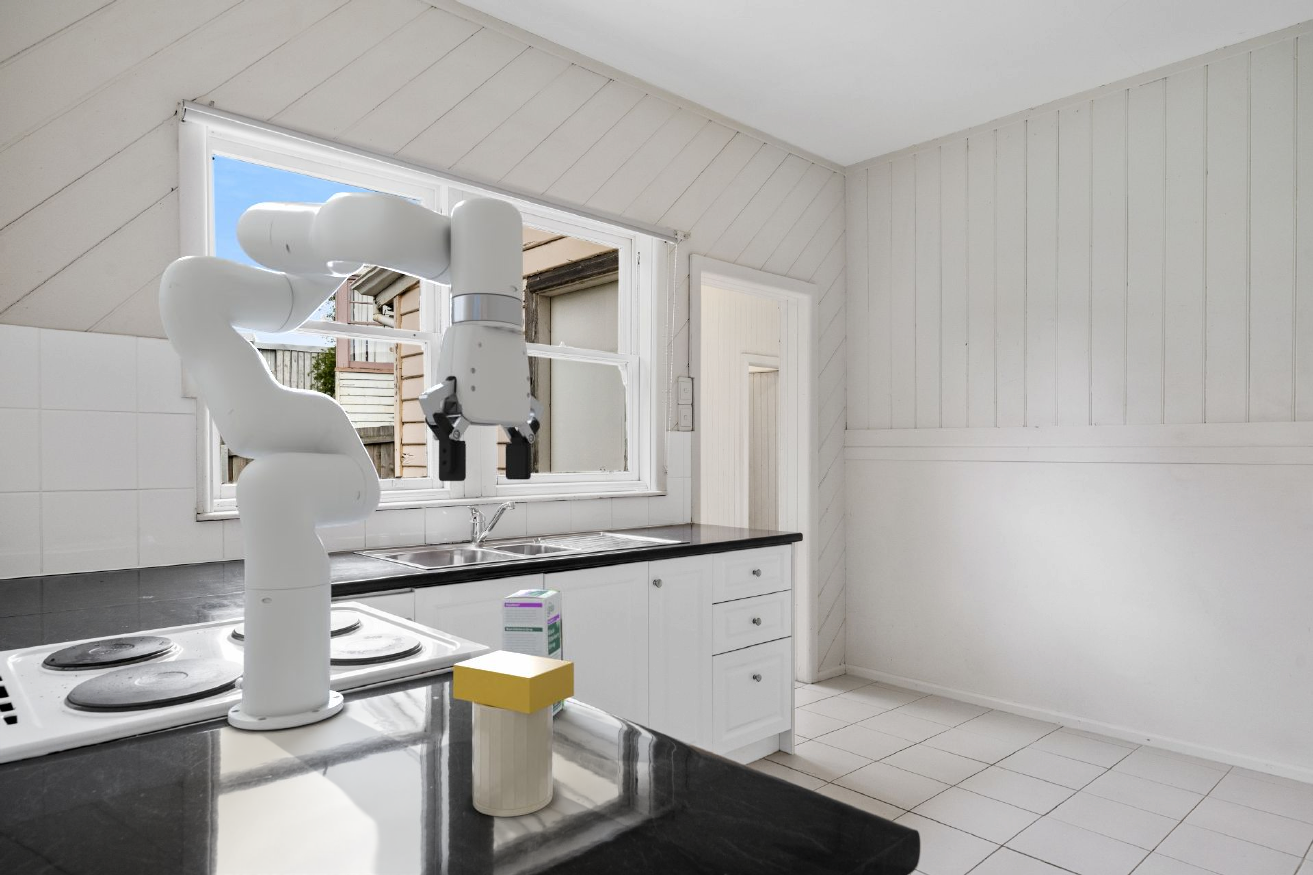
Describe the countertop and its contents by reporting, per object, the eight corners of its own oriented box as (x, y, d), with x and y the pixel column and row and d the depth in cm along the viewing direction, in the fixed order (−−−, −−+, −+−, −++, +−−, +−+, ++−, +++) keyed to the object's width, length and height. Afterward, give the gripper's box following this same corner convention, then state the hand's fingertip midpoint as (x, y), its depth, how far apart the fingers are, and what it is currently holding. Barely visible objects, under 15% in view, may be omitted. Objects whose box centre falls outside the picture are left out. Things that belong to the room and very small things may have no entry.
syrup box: (548, 723, 88) (548, 596, 88) (500, 720, 89) (500, 595, 89) (564, 707, 93) (564, 589, 94) (519, 705, 94) (519, 588, 95)
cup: (455, 804, 66) (455, 701, 67) (510, 777, 72) (510, 681, 73) (515, 824, 63) (515, 713, 63) (568, 792, 69) (568, 692, 69)
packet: (452, 698, 68) (453, 664, 68) (499, 681, 73) (499, 650, 73) (530, 714, 63) (529, 677, 63) (574, 695, 68) (574, 661, 68)
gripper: (515, 334, 90) (515, 478, 89) (397, 309, 75) (396, 481, 75) (565, 328, 86) (566, 478, 85) (450, 299, 71) (450, 481, 71)
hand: (486, 480), depth 80 cm, fingers open, 9 cm apart
